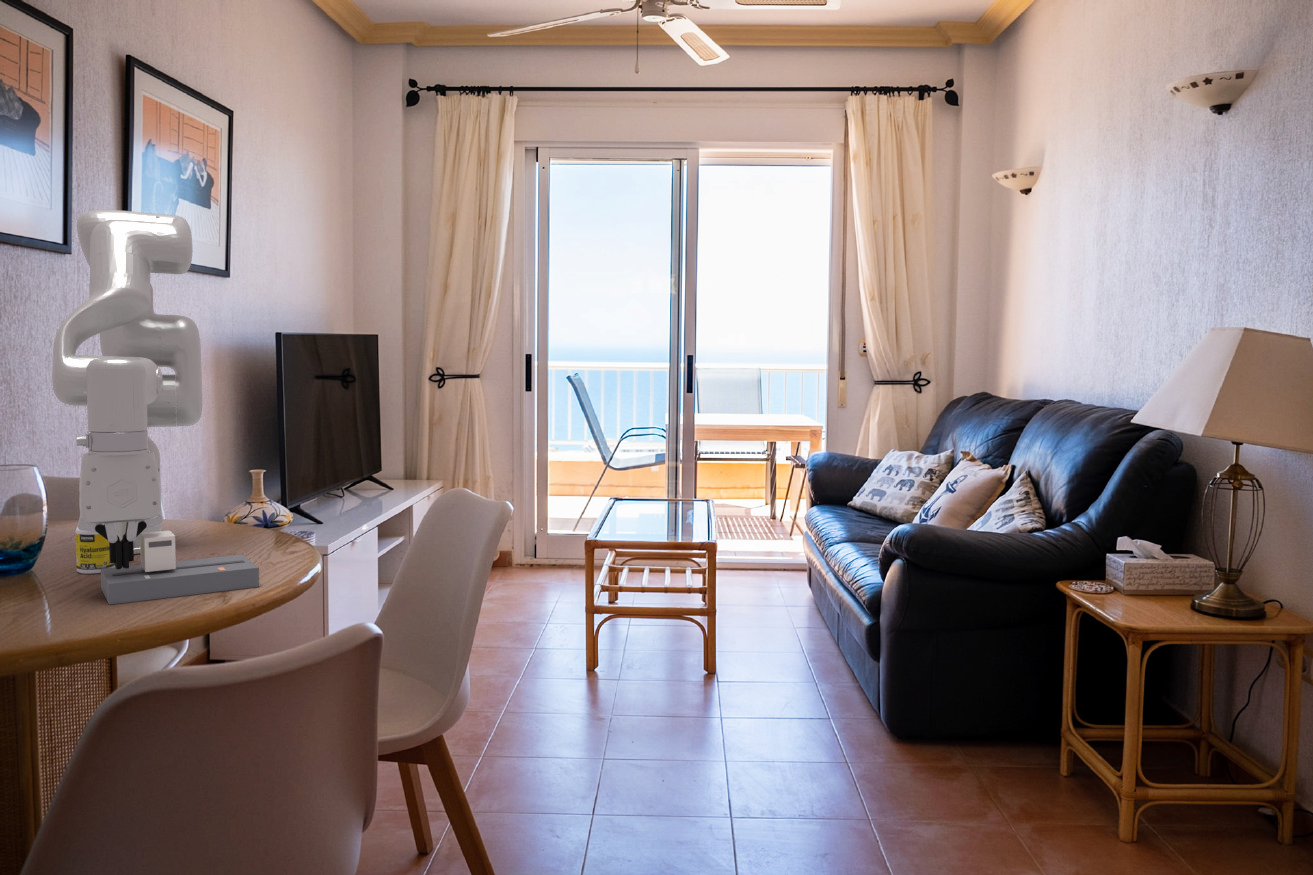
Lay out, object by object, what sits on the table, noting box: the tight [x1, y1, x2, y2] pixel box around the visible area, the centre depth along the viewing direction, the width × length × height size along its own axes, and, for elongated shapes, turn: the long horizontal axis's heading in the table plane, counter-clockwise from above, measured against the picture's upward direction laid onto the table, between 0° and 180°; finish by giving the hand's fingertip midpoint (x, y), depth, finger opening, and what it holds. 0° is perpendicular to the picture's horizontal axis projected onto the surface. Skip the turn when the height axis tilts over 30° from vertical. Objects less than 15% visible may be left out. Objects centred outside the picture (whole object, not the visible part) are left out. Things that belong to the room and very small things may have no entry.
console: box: [100, 554, 260, 606], centre depth 141 cm, size 11×20×3 cm, turn 126°
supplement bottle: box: [75, 523, 115, 575], centre depth 150 cm, size 5×5×10 cm
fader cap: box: [140, 530, 177, 572], centre depth 138 cm, size 5×4×5 cm
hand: (121, 566), depth 136 cm, fingers closed
